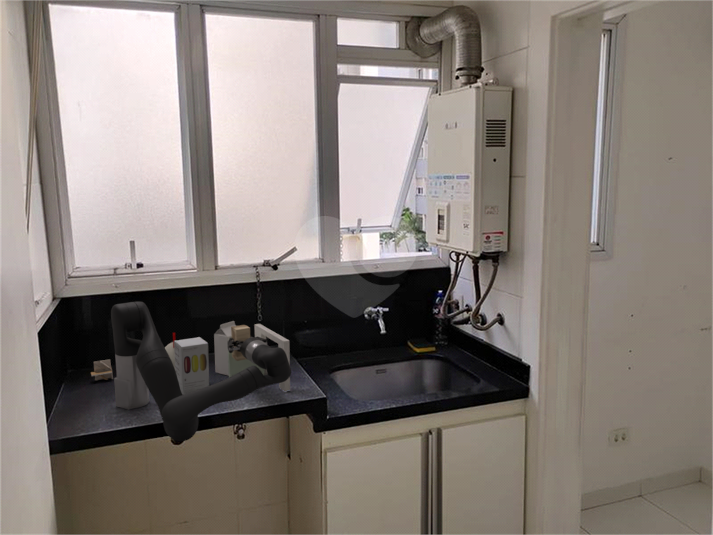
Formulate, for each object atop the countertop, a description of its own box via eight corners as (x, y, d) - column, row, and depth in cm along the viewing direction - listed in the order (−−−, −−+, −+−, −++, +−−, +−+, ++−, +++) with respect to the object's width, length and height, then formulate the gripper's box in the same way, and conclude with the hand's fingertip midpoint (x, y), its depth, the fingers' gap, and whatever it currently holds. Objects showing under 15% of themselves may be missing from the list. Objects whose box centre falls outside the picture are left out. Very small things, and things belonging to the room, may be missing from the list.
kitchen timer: (194, 365, 220) (192, 327, 218) (196, 376, 208) (194, 337, 205) (156, 368, 216) (154, 330, 214) (156, 381, 203) (153, 340, 201)
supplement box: (182, 395, 190) (180, 347, 187) (174, 387, 197) (172, 340, 195) (210, 389, 195) (208, 342, 192) (201, 381, 203) (200, 336, 200)
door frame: (255, 370, 214) (254, 324, 211) (260, 369, 215) (259, 323, 212) (284, 392, 192) (283, 341, 190) (290, 391, 193) (289, 340, 191)
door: (265, 372, 211) (264, 338, 209) (268, 374, 209) (267, 340, 206) (227, 379, 203) (226, 344, 201) (230, 381, 201) (229, 346, 199)
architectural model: (113, 381, 204) (112, 361, 202) (92, 385, 200) (90, 365, 199) (112, 378, 207) (110, 359, 205) (91, 382, 203) (89, 362, 202)
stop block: (250, 358, 197) (250, 327, 195) (237, 360, 194) (236, 329, 193) (245, 354, 201) (244, 324, 199) (232, 357, 198) (231, 326, 197)
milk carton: (242, 371, 214) (241, 322, 211) (229, 376, 208) (227, 326, 205) (229, 367, 218) (227, 319, 215) (215, 372, 212) (213, 323, 209)
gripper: (236, 366, 182) (218, 352, 196) (277, 358, 189) (257, 346, 203) (235, 343, 180) (218, 331, 195) (276, 337, 188) (257, 326, 202)
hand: (238, 339), depth 199 cm, fingers closed on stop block, 5 cm apart
